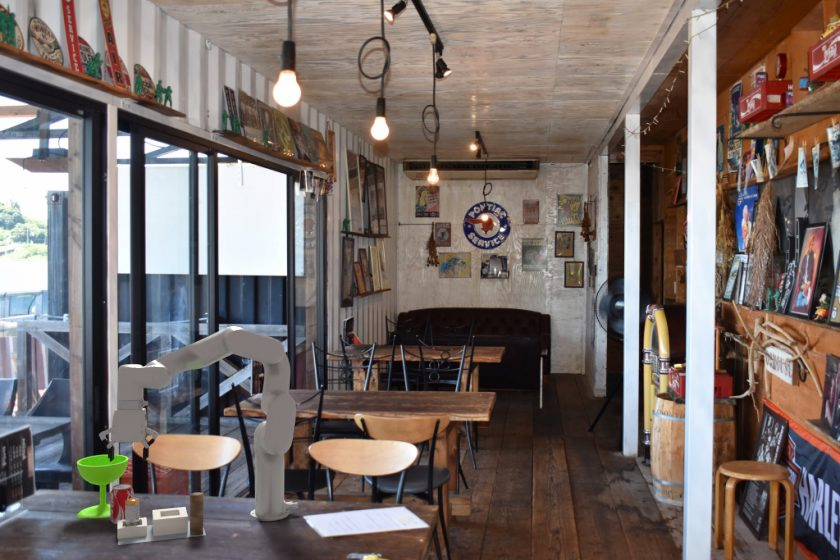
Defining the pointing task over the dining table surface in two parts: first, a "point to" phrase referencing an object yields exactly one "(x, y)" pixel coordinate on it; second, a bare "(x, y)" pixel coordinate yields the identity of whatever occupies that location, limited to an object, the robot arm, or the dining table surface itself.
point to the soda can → (119, 501)
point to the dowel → (196, 513)
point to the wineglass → (101, 480)
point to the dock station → (157, 527)
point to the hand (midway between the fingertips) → (128, 460)
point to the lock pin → (132, 512)
